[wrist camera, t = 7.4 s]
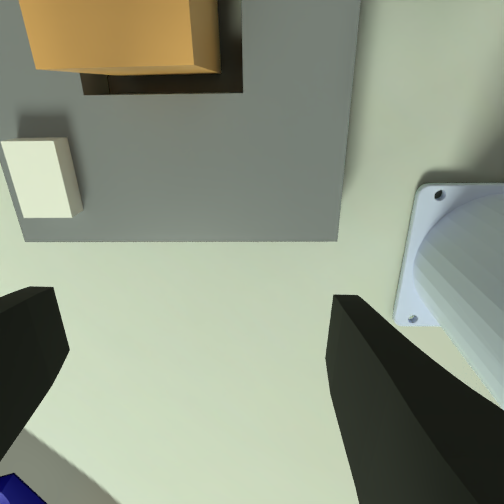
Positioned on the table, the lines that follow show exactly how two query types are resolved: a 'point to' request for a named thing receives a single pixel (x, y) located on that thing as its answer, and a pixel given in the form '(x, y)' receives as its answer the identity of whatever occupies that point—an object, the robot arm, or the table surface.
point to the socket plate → (186, 139)
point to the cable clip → (17, 491)
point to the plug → (124, 36)
